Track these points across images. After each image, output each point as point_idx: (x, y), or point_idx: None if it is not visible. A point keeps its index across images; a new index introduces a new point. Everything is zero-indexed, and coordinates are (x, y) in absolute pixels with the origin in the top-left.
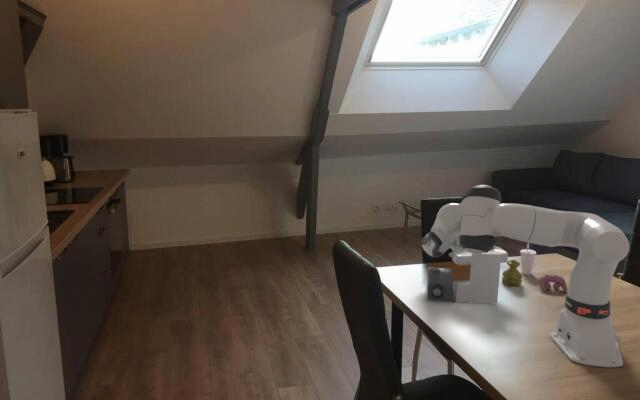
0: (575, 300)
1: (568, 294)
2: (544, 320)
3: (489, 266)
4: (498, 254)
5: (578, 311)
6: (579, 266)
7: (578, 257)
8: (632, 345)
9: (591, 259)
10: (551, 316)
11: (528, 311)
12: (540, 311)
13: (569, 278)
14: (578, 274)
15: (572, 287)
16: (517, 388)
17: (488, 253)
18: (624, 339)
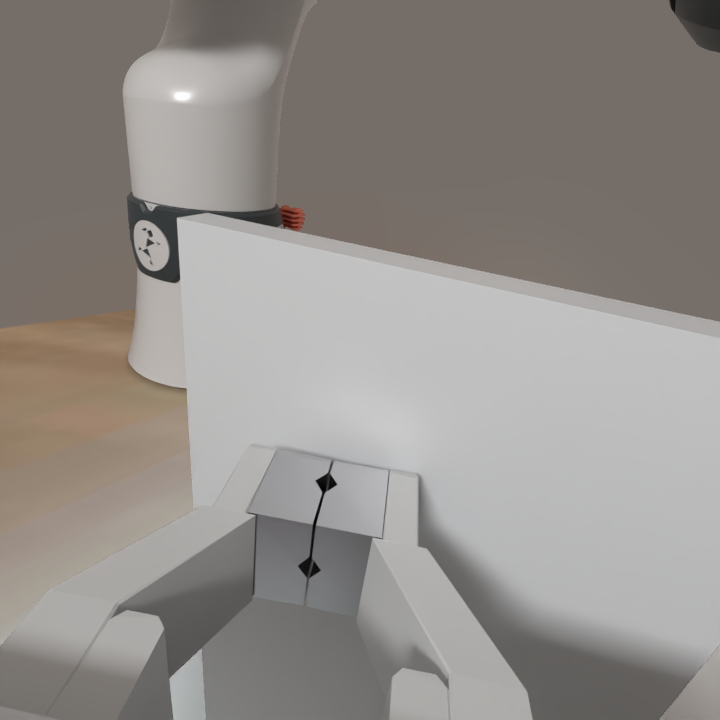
0: (275, 204)
1: (260, 204)
2: (171, 453)
3: None
4: (252, 225)
5: (302, 220)
6: (292, 50)
7: (297, 6)
8: (113, 314)
9: (311, 5)
10: (88, 466)
11: (128, 544)
12: (62, 520)
13: (249, 135)
14: (283, 91)
15: (274, 160)
16: None
17: (423, 269)
18: (87, 326)
